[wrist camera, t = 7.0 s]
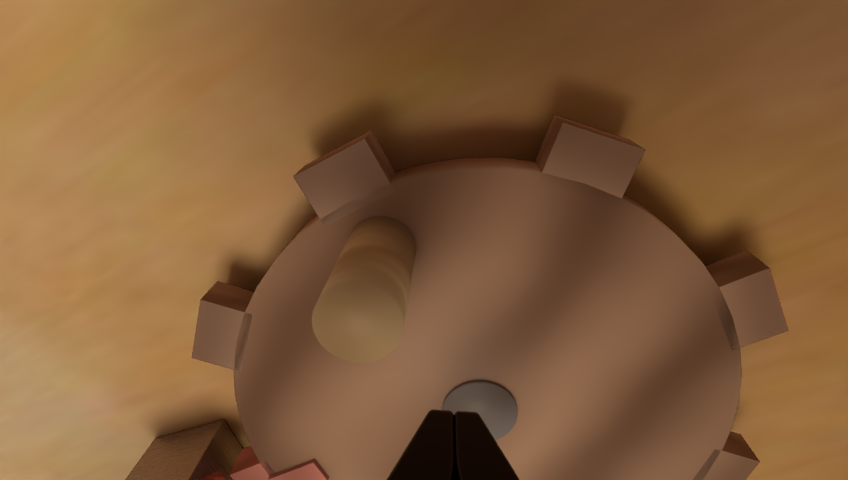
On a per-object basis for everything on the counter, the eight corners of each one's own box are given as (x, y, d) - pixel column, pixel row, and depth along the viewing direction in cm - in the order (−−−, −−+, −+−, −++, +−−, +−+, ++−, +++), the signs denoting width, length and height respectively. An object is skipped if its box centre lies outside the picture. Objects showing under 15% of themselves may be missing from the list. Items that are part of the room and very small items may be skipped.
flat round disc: (894, 227, 18) (1112, 327, 12) (609, 610, 27) (653, 776, 21) (261, 17, 16) (151, 12, 11) (181, 498, 25) (98, 643, 19)
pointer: (259, 451, 25) (226, 524, 22) (179, 472, 26) (135, 546, 22) (236, 415, 24) (197, 484, 21) (154, 438, 25) (104, 509, 22)
